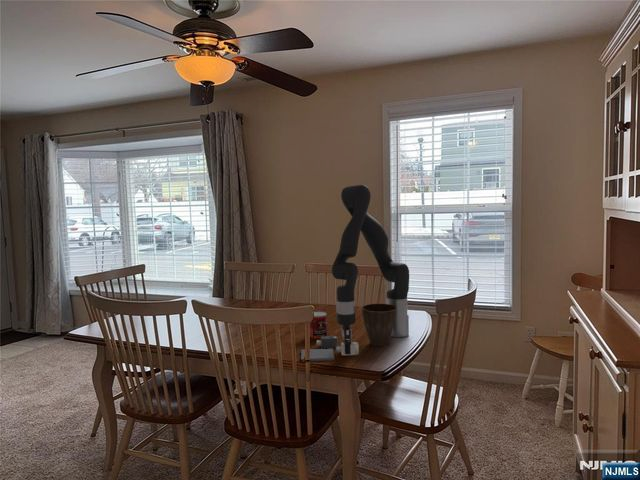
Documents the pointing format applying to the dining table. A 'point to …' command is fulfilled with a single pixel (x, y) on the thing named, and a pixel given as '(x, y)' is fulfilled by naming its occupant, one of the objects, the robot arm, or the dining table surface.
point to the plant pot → (379, 322)
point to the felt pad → (319, 354)
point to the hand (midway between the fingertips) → (346, 350)
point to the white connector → (353, 348)
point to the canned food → (318, 325)
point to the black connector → (328, 342)
